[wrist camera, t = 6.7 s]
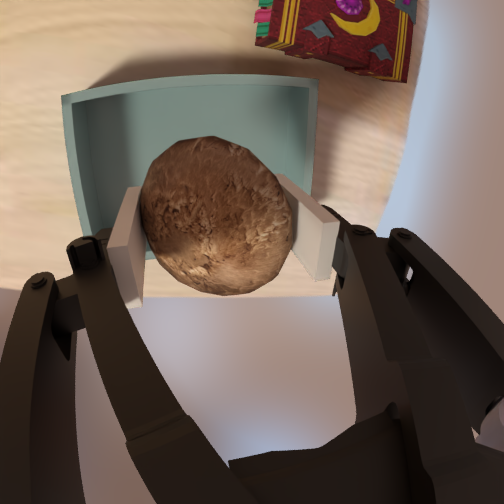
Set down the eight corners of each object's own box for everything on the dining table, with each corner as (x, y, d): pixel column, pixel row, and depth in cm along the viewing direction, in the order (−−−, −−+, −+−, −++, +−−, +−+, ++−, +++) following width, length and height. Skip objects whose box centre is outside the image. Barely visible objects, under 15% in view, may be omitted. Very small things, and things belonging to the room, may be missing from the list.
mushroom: (341, 175, 14) (317, 248, 10) (270, 265, 20) (230, 340, 15) (208, 95, 14) (125, 127, 9) (170, 200, 19) (109, 256, 15)
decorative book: (381, 83, 26) (411, 86, 22) (238, 47, 22) (254, 38, 18) (390, 1, 21) (420, -5, 17) (255, -48, 16) (272, -69, 12)
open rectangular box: (101, 239, 27) (92, 266, 23) (79, 94, 20) (61, 95, 16) (286, 217, 32) (305, 239, 28) (294, 79, 24) (318, 79, 20)
